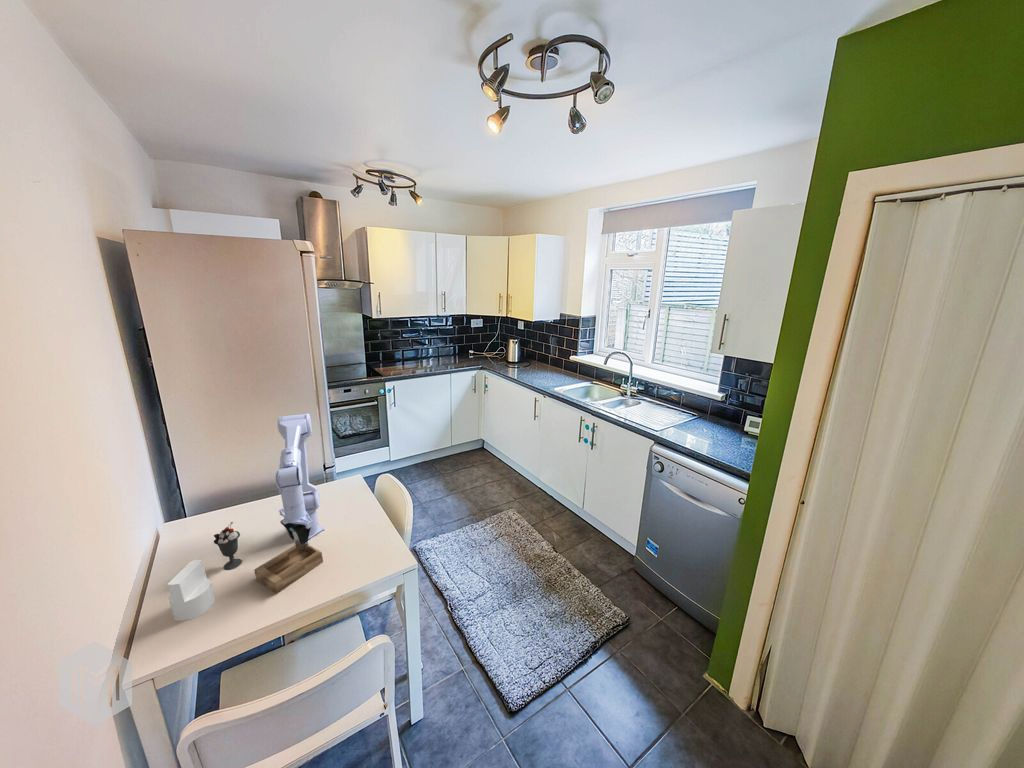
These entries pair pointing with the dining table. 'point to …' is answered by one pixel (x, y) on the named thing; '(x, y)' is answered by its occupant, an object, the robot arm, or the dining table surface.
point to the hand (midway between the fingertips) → (299, 539)
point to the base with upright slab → (190, 592)
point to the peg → (297, 539)
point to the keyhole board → (288, 567)
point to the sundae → (228, 546)
